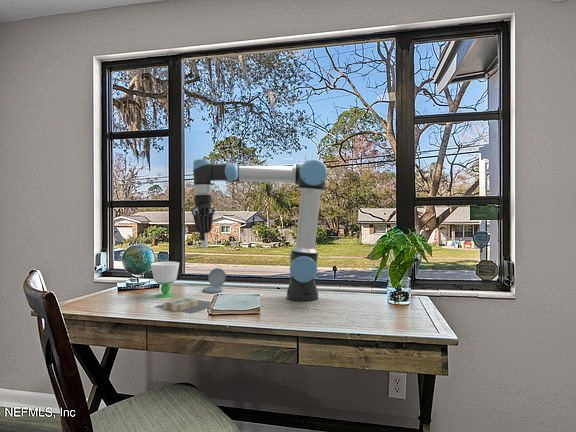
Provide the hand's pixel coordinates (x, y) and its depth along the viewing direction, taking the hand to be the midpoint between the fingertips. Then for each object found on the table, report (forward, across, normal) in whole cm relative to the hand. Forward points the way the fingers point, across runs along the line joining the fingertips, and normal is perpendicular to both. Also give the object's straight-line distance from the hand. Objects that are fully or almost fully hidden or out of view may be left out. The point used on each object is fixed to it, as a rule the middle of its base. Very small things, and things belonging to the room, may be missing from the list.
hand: (204, 247), depth 193 cm
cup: (+25, -4, -29) cm, 39 cm away
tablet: (+23, +6, -4) cm, 24 cm away
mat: (+25, +7, -4) cm, 27 cm away
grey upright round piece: (+26, -24, -16) cm, 38 cm away
